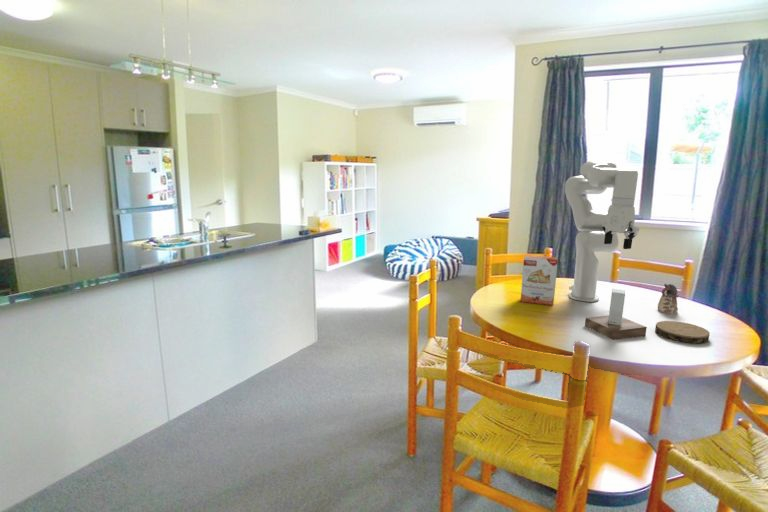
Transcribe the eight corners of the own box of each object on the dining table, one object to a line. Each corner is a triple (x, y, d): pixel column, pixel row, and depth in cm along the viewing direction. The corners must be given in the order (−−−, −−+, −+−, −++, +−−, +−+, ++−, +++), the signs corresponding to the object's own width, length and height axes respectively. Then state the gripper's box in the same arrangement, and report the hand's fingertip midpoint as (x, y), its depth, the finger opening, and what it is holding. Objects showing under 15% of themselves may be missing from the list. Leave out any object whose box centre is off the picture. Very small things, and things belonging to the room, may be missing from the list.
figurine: (680, 314, 177) (684, 286, 174) (661, 313, 178) (665, 285, 176) (672, 309, 183) (676, 282, 181) (654, 308, 185) (658, 281, 183)
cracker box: (520, 302, 192) (523, 256, 188) (521, 298, 197) (524, 254, 193) (553, 306, 187) (557, 259, 183) (553, 302, 192) (557, 256, 188)
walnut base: (584, 327, 163) (585, 317, 162) (614, 324, 166) (616, 314, 166) (613, 341, 149) (614, 330, 149) (645, 337, 153) (646, 327, 152)
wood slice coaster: (689, 347, 143) (690, 339, 143) (645, 331, 158) (646, 324, 157) (718, 341, 150) (720, 332, 149) (673, 326, 164) (674, 318, 163)
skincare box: (621, 326, 153) (625, 293, 151) (608, 324, 155) (611, 292, 153) (621, 321, 158) (625, 289, 156) (608, 319, 160) (611, 288, 158)
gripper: (598, 200, 170) (593, 242, 174) (633, 205, 154) (626, 251, 158) (613, 200, 172) (608, 241, 176) (649, 204, 156) (643, 250, 160)
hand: (617, 246), depth 167 cm, fingers open, 9 cm apart
